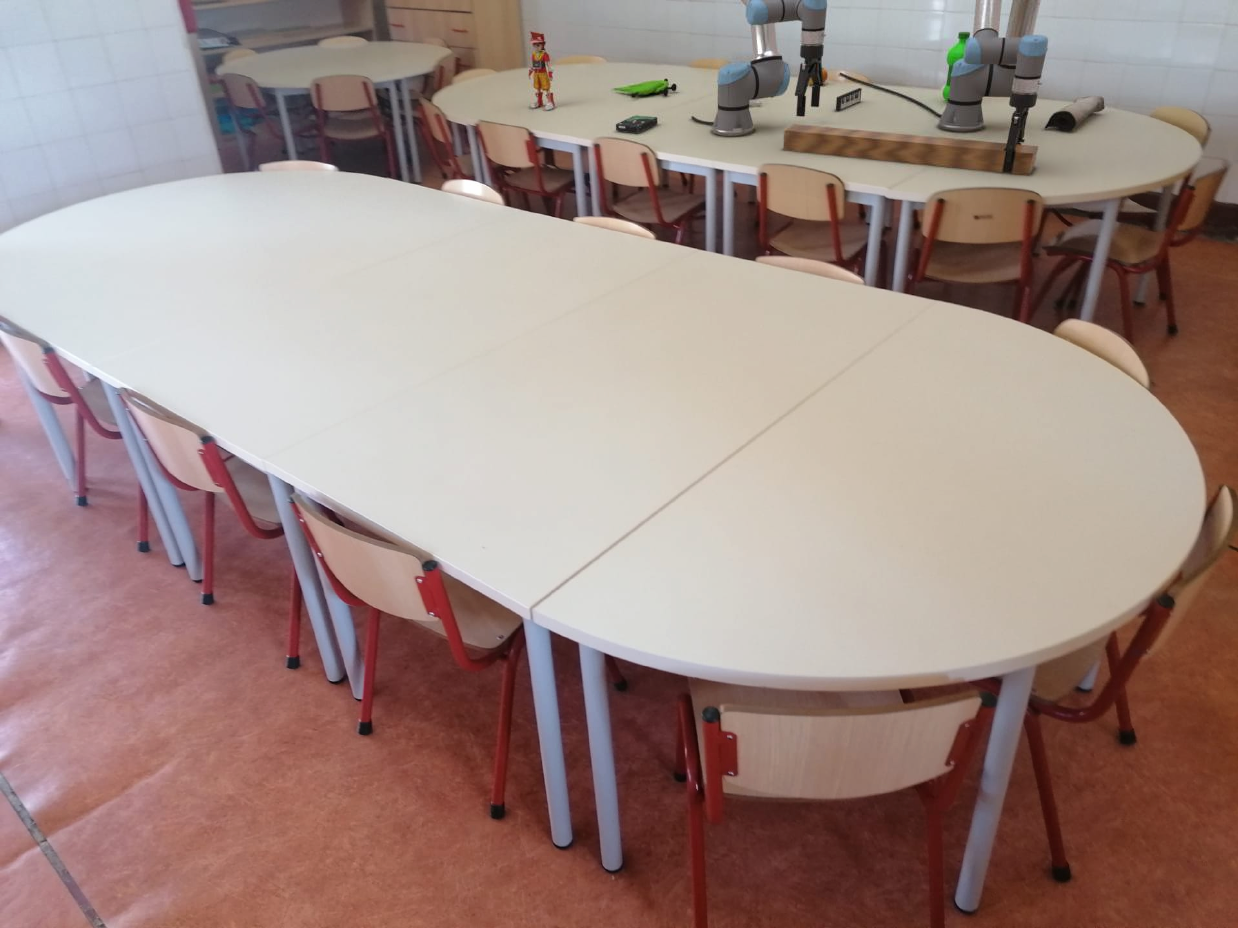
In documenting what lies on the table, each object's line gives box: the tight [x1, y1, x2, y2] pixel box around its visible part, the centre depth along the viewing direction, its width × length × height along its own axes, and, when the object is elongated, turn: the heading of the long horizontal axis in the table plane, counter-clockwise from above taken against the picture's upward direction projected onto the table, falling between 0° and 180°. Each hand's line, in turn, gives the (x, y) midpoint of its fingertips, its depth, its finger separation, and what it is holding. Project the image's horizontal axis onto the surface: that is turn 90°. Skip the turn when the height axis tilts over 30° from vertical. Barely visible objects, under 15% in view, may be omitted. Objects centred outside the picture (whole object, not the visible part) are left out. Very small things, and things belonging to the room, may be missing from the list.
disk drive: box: [615, 114, 658, 134], centre depth 347 cm, size 10×3×15 cm
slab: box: [783, 123, 1039, 176], centre depth 297 cm, size 81×8×7 cm, turn 59°
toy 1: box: [527, 31, 556, 111], centre depth 374 cm, size 12×9×30 cm
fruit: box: [808, 67, 829, 86], centre depth 389 cm, size 8×8×8 cm
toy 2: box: [612, 78, 677, 99], centre depth 396 cm, size 28×5×30 cm
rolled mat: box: [1044, 95, 1106, 133], centre depth 322 cm, size 30×9×10 cm
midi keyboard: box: [835, 87, 863, 112], centre depth 357 cm, size 18×1×5 cm, turn 138°
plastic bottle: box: [942, 31, 971, 103], centre depth 348 cm, size 10×10×25 cm
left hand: (807, 111), depth 307 cm, fingers open, 13 cm apart
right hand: (1009, 167), depth 283 cm, fingers closed on slab, 8 cm apart
